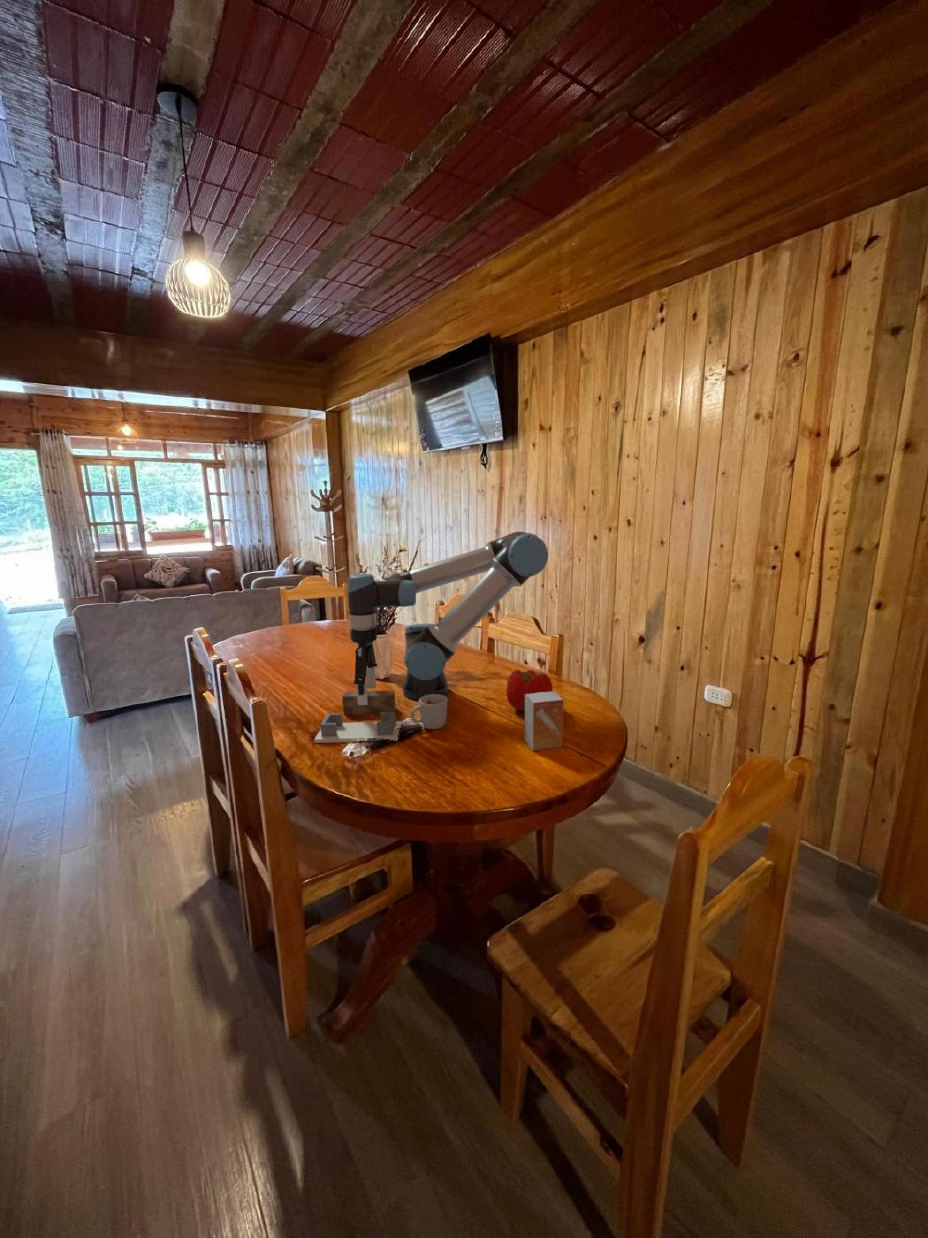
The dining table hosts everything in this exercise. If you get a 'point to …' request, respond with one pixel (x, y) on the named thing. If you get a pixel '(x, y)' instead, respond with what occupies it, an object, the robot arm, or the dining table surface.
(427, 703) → the cup
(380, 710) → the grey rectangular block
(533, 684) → the tomato
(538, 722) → the small box
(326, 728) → the board
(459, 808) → the dining table surface
